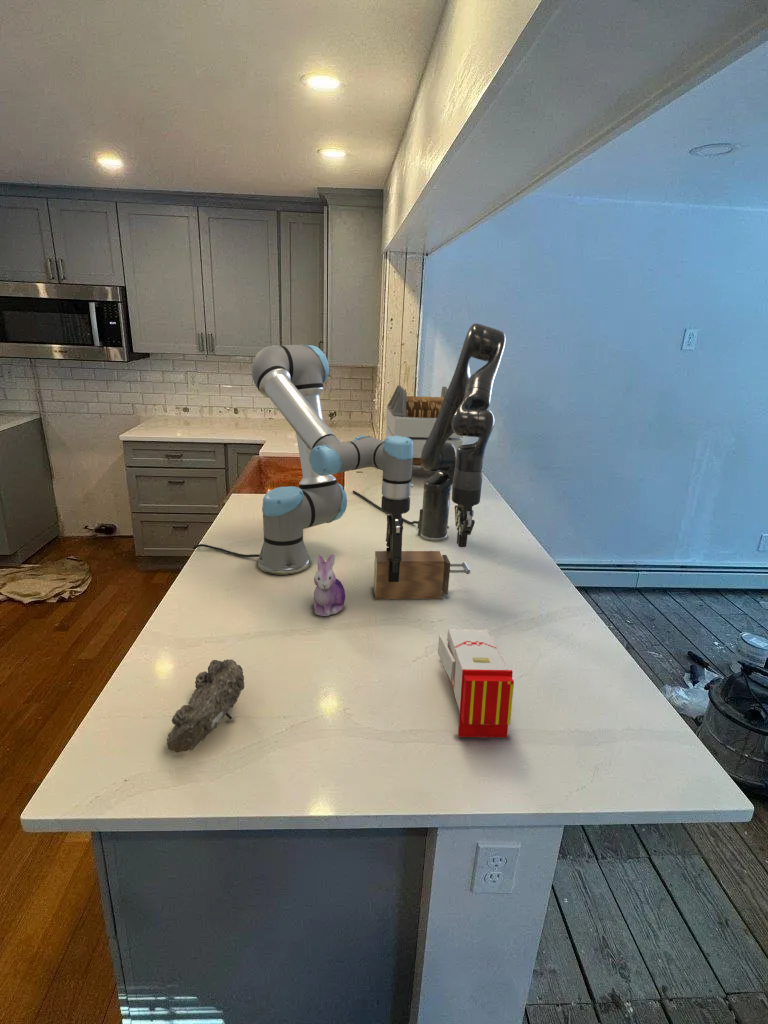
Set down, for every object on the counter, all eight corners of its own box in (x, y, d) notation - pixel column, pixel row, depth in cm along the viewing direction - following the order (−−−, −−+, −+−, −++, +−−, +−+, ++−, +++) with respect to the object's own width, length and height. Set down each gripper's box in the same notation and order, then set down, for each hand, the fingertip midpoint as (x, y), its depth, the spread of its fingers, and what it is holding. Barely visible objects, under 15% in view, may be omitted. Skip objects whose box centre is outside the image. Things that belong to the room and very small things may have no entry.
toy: (488, 613, 130) (523, 677, 101) (484, 667, 133) (517, 744, 104) (435, 612, 130) (455, 676, 101) (432, 666, 133) (451, 743, 103)
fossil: (192, 660, 117) (244, 628, 112) (224, 691, 120) (276, 661, 115) (142, 746, 98) (202, 712, 93) (182, 779, 101) (242, 748, 96)
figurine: (319, 621, 142) (319, 567, 137) (305, 602, 151) (304, 551, 146) (353, 613, 146) (354, 560, 141) (337, 596, 155) (338, 545, 150)
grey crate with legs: (382, 463, 289) (386, 382, 275) (445, 464, 293) (451, 384, 279) (390, 482, 257) (394, 392, 243) (460, 483, 261) (468, 394, 247)
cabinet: (436, 587, 163) (439, 550, 159) (441, 598, 156) (444, 561, 153) (373, 587, 161) (375, 551, 157) (375, 599, 154) (377, 561, 151)
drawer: (463, 585, 163) (466, 554, 159) (468, 594, 158) (471, 563, 154) (384, 585, 160) (385, 554, 157) (386, 595, 155) (388, 563, 152)
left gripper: (416, 508, 140) (410, 592, 147) (405, 485, 158) (400, 560, 166) (385, 508, 139) (381, 592, 147) (378, 484, 157) (375, 560, 165)
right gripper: (488, 493, 143) (481, 555, 149) (474, 477, 156) (468, 536, 162) (459, 492, 143) (453, 555, 148) (447, 477, 155) (442, 536, 161)
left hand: (391, 575), depth 156 cm, fingers closed on cabinet, 7 cm apart
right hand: (461, 545), depth 155 cm, fingers closed
